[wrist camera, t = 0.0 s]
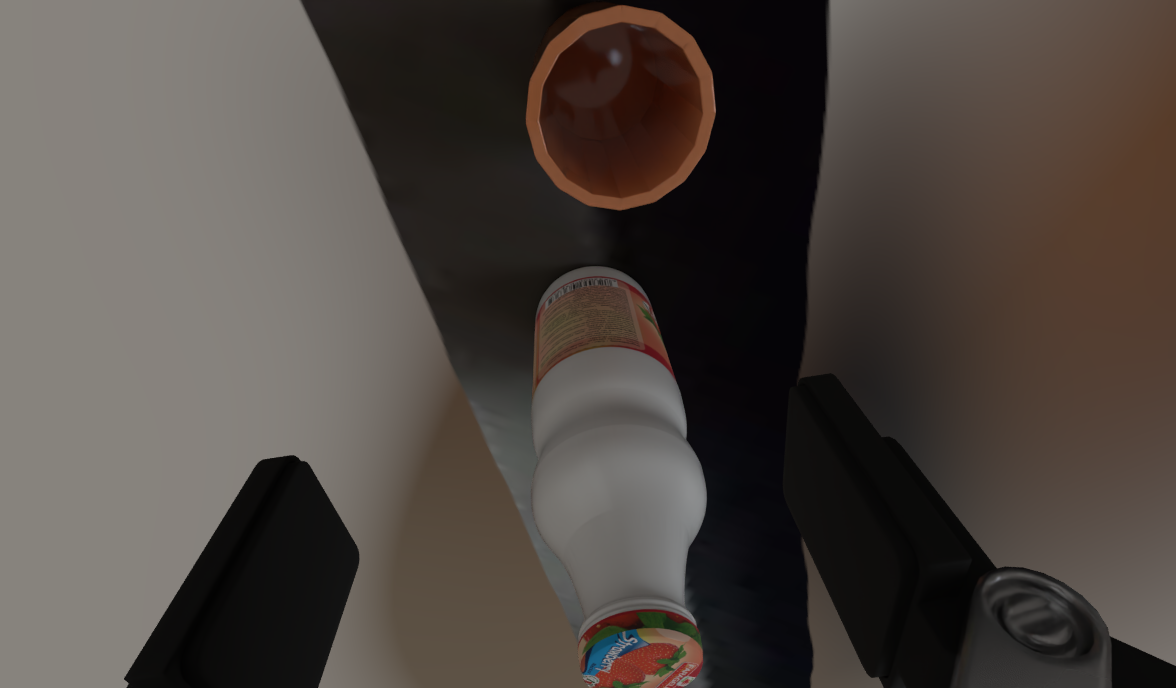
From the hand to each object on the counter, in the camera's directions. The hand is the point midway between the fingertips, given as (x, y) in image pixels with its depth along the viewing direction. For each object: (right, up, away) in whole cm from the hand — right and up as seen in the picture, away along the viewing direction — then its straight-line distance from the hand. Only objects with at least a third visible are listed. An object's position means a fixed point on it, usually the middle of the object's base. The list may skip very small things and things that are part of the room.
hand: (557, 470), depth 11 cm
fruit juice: (+1, +5, +34) cm, 35 cm away
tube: (+1, +20, +25) cm, 32 cm away
